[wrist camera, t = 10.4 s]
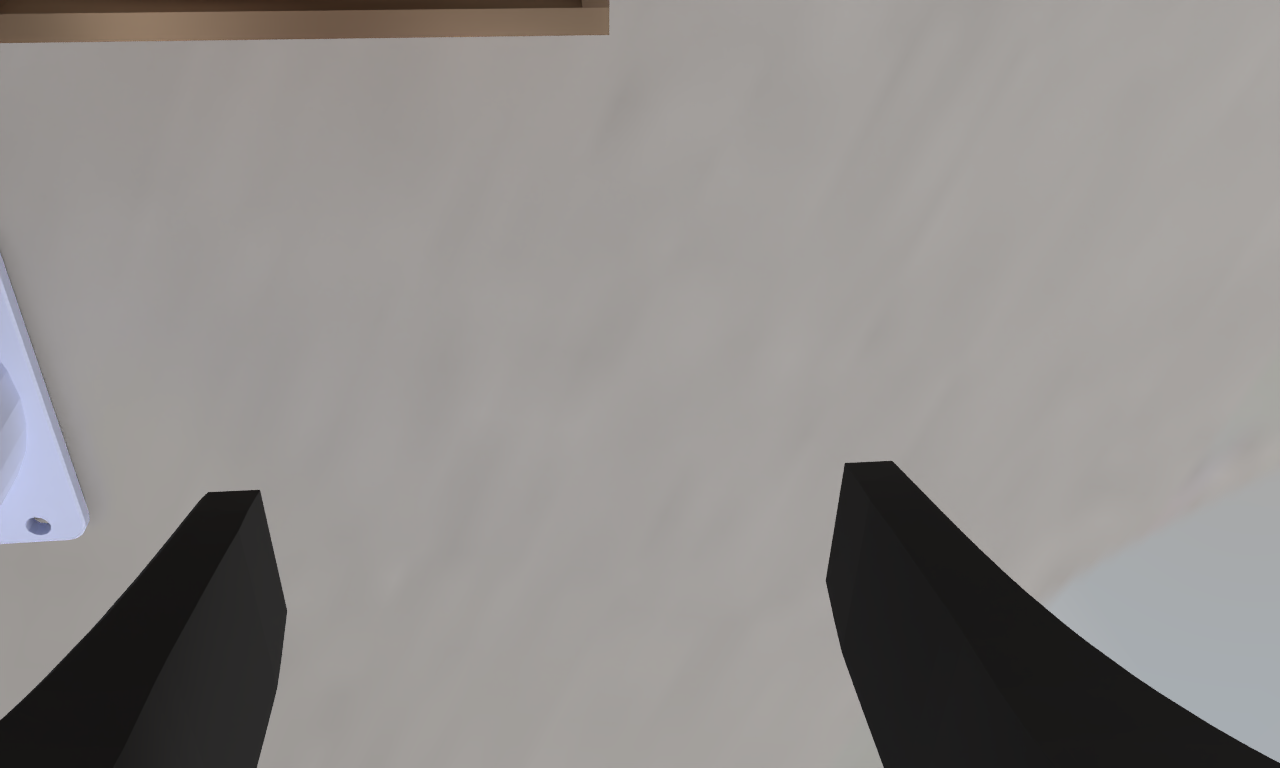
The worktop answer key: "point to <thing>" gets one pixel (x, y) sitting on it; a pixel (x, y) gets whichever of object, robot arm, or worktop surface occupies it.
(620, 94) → the worktop surface
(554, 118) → the worktop surface
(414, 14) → the box
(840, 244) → the worktop surface
